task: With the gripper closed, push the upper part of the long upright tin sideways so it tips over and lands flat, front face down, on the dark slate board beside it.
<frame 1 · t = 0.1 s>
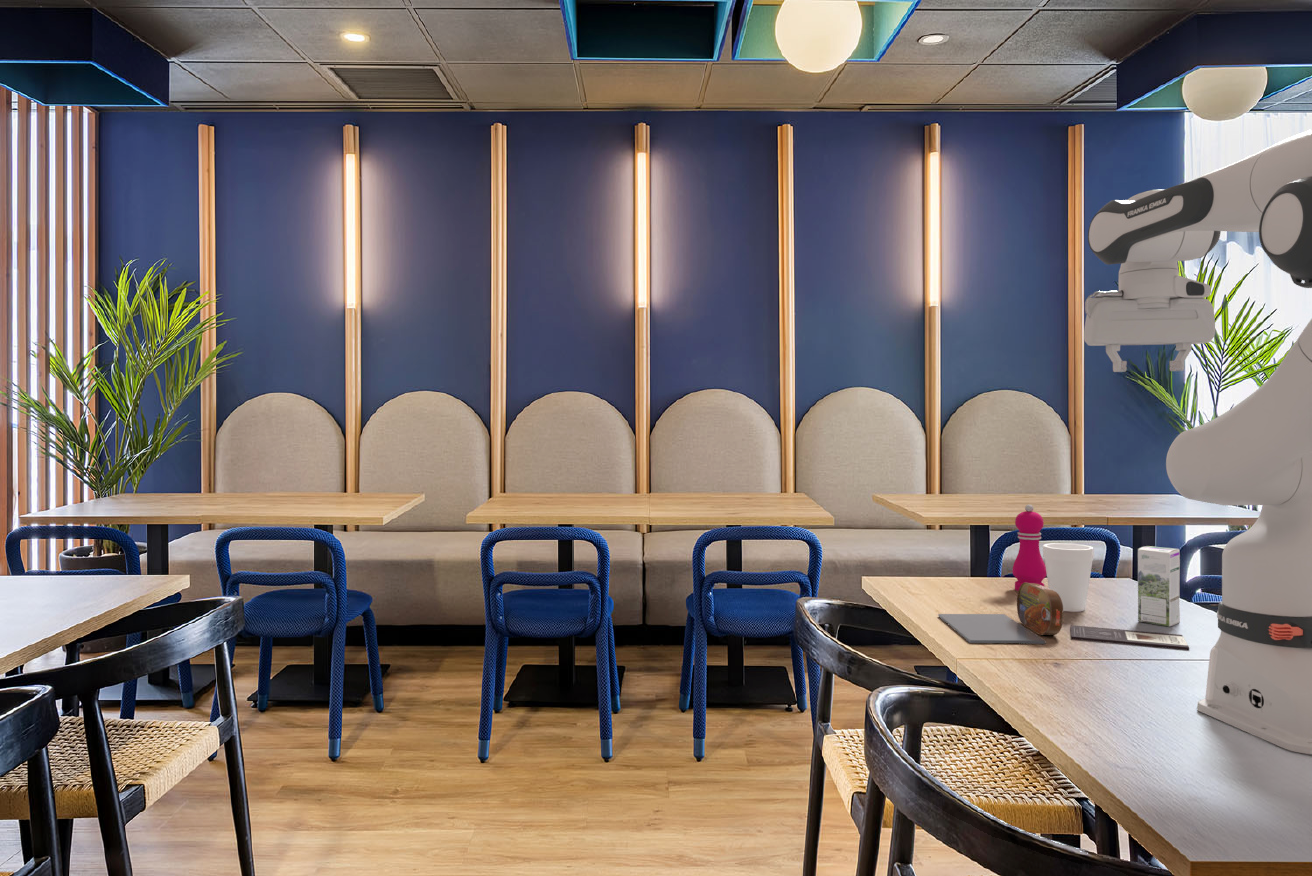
hand: (1148, 371, 140), 48 cm above the table, tool pointing down, fingers open, 8 cm apart
tin: (1039, 631, 155), on the table
chocolate bar: (1126, 642, 148), on the table
pepper mill: (1029, 591, 190), on the table
foam cup: (1068, 609, 172), on the table
syrup box: (1158, 623, 160), on the table
slate board: (988, 629, 156), on the table
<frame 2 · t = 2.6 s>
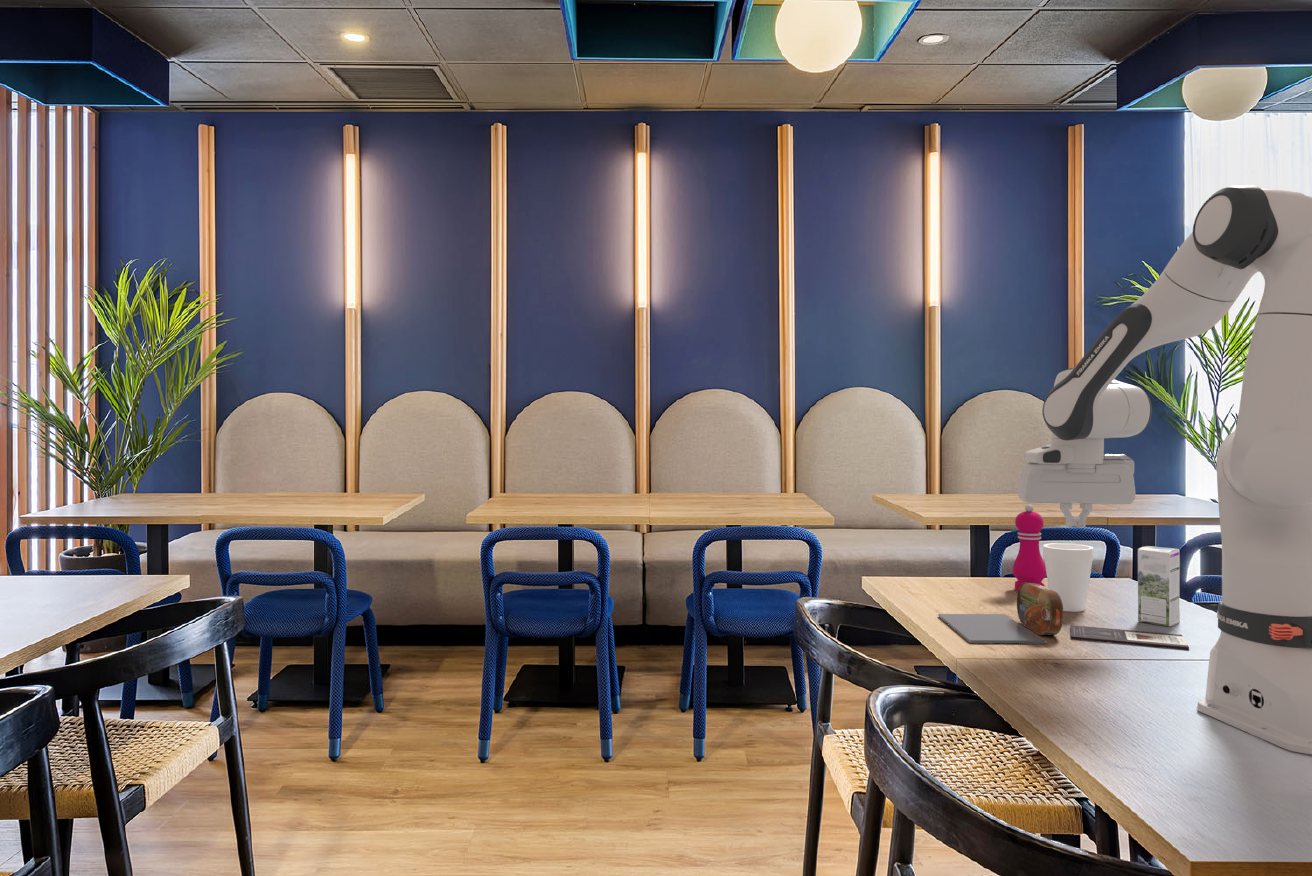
hand: (1075, 527, 155), 19 cm above the table, tool pointing down, fingers closed
nothing on the table moved.
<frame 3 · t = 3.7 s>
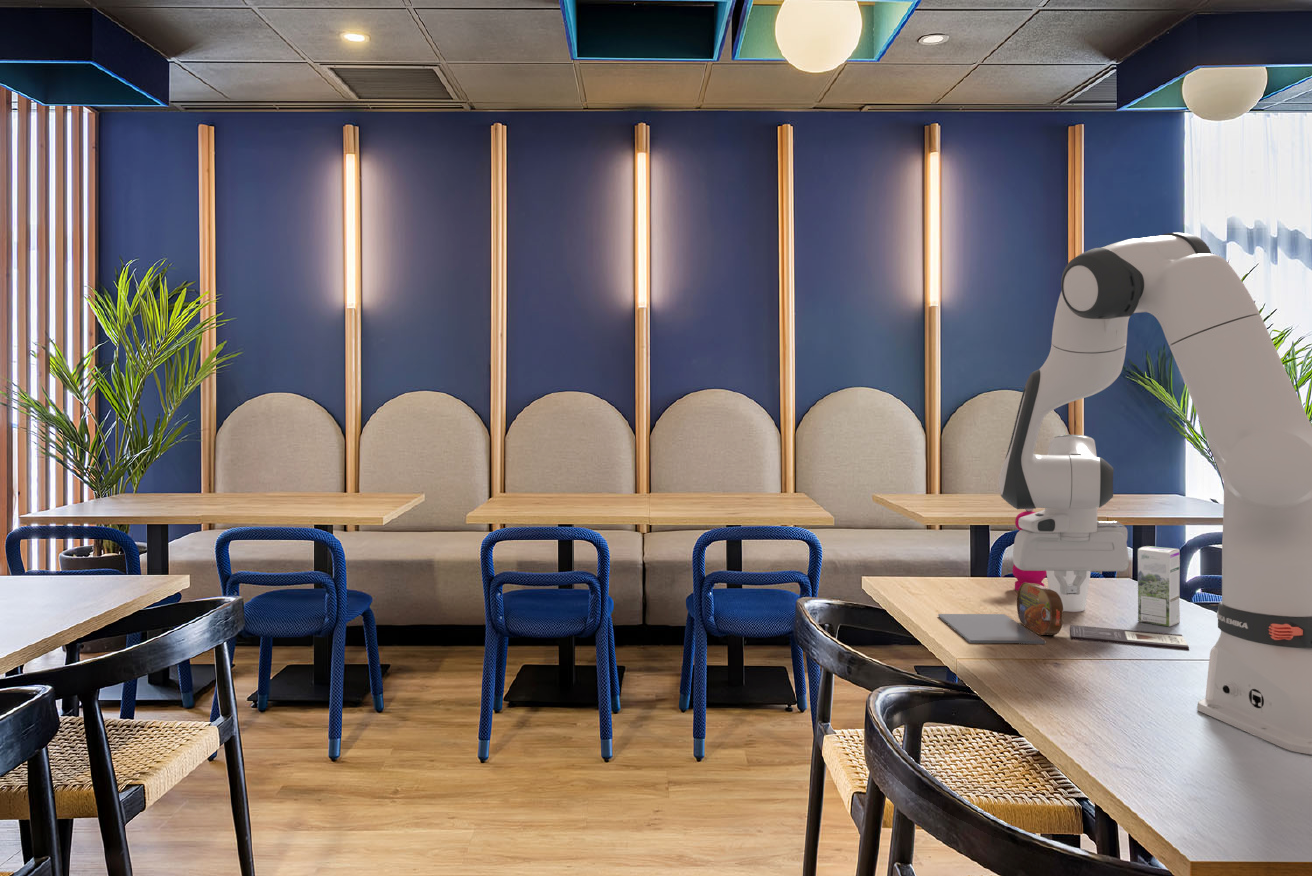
hand: (1069, 594, 155), 7 cm above the table, tool pointing down, fingers closed
nothing on the table moved.
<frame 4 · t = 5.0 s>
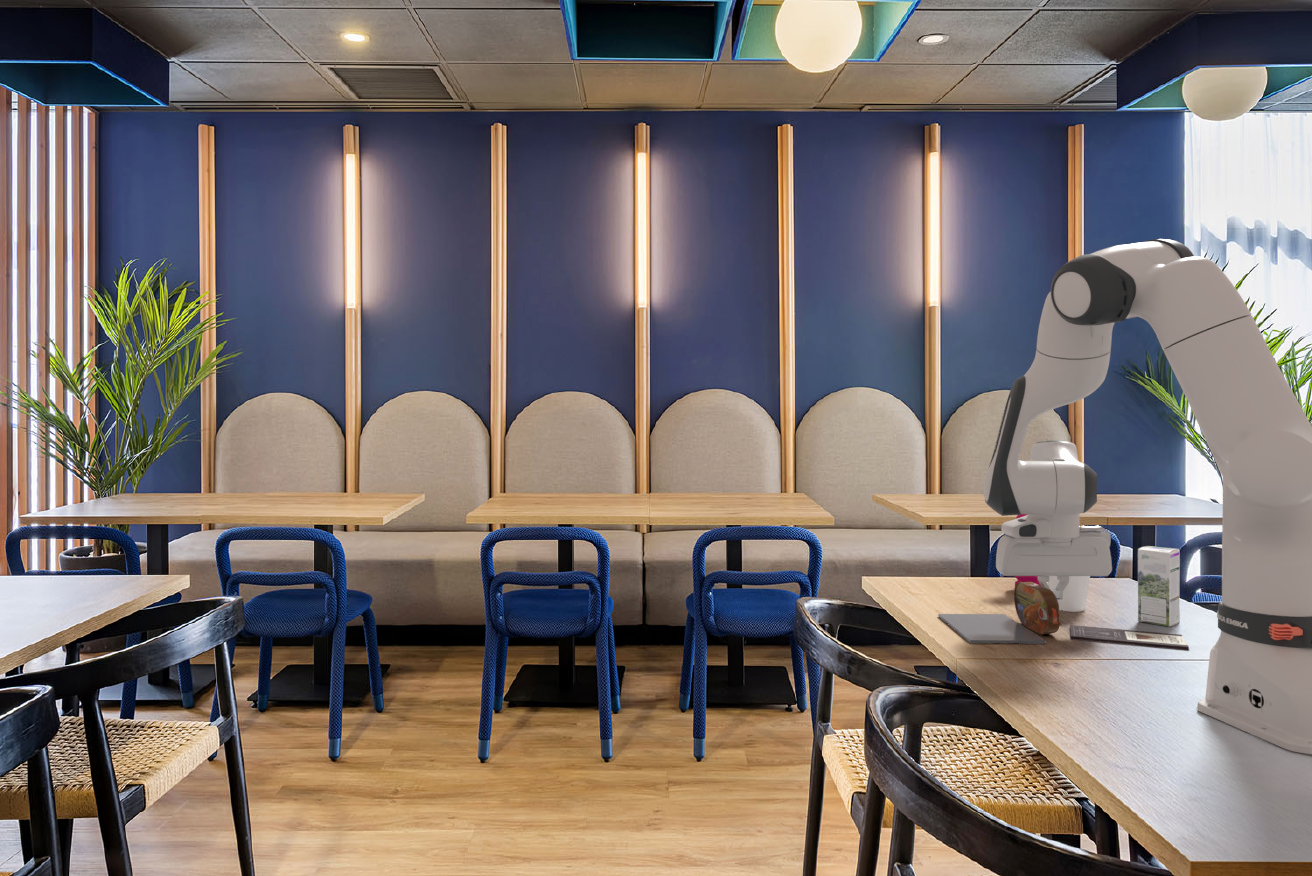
hand: (1053, 599, 155), 6 cm above the table, tool pointing down, fingers closed
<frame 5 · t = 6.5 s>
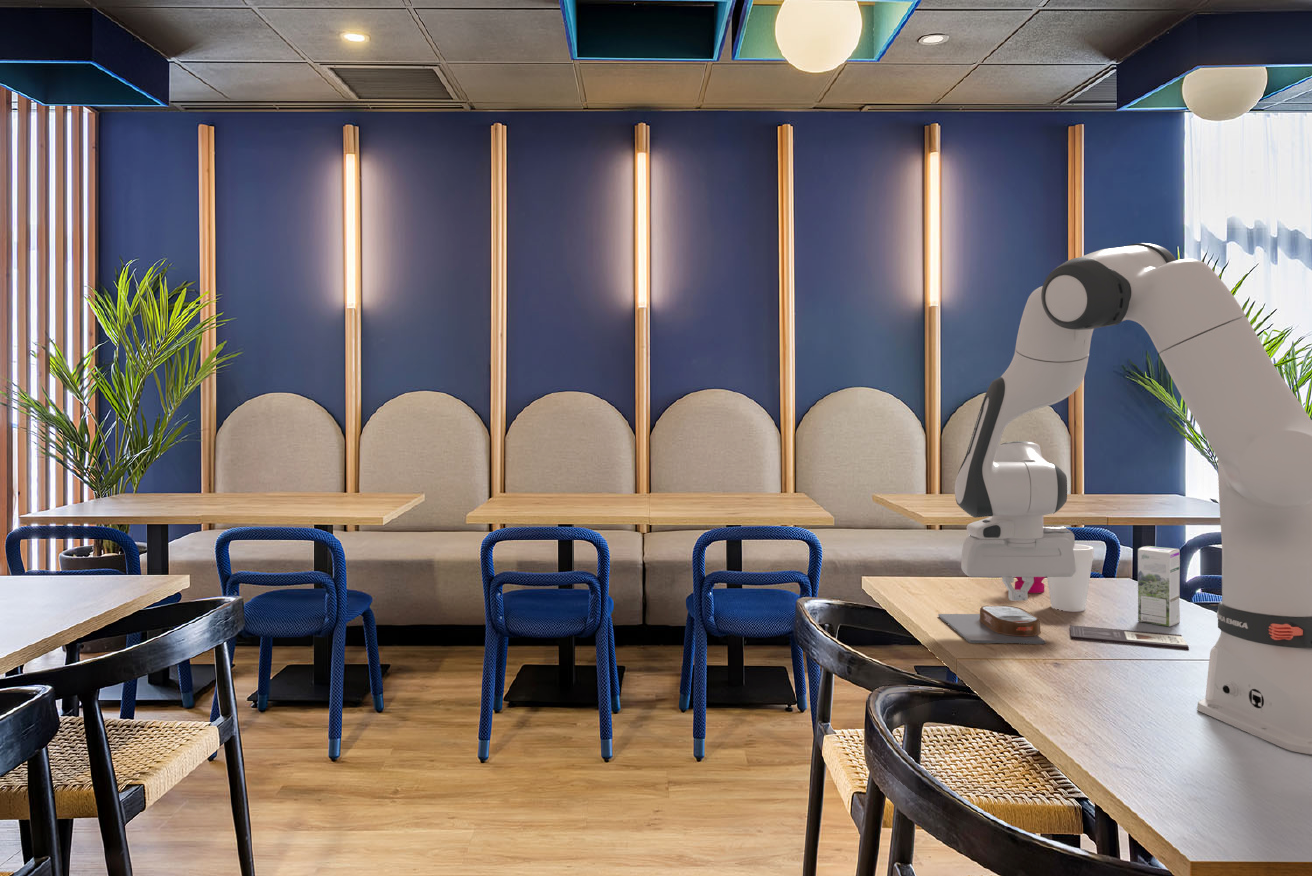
hand: (1017, 600, 155), 6 cm above the table, tool pointing down, fingers closed
tin: (1032, 618, 155), point 2 cm above the table, touching slate board
everything else where it was.
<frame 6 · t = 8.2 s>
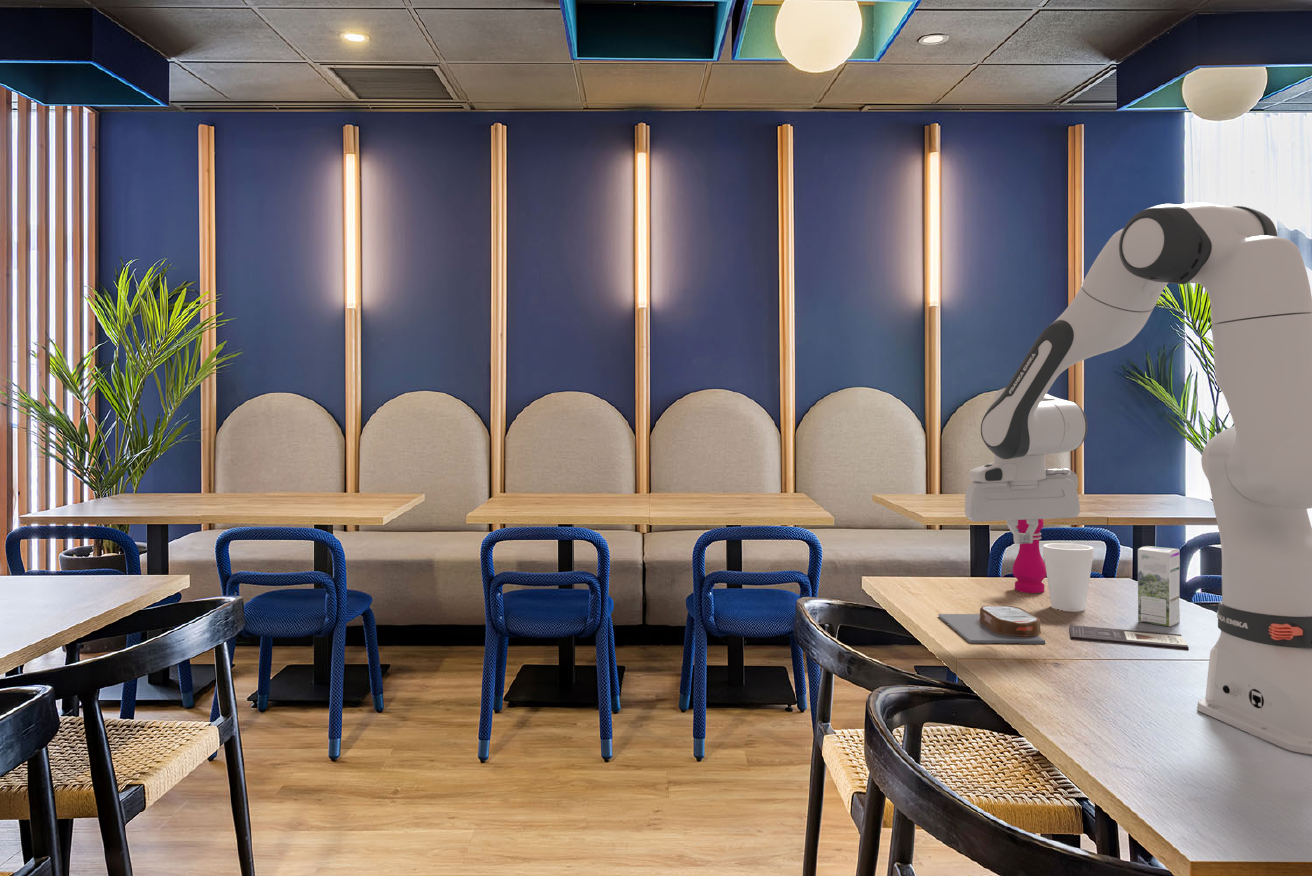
hand: (1023, 543, 155), 16 cm above the table, tool pointing down, fingers closed
nothing on the table moved.
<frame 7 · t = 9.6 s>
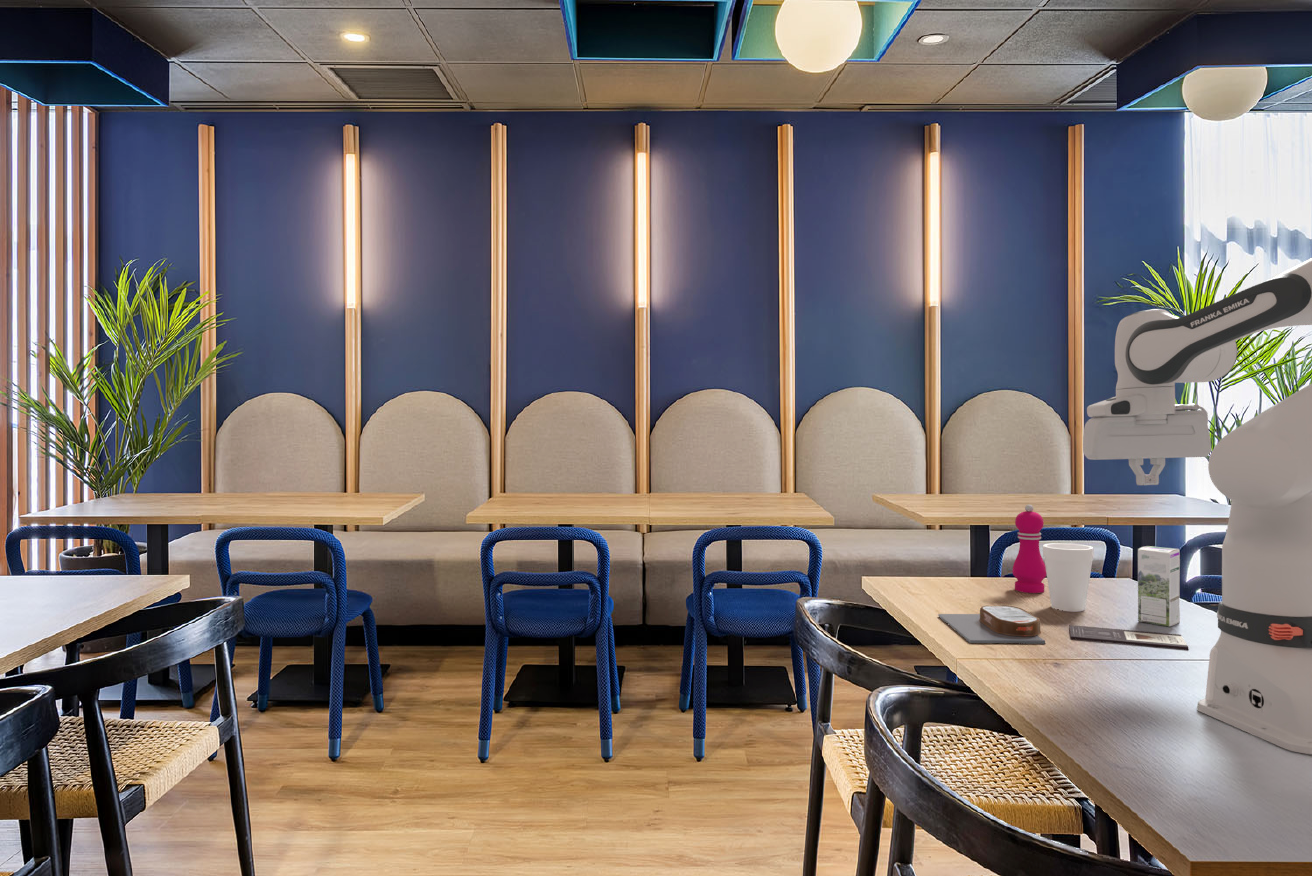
hand: (1147, 485, 142), 28 cm above the table, tool pointing down, fingers closed
nothing on the table moved.
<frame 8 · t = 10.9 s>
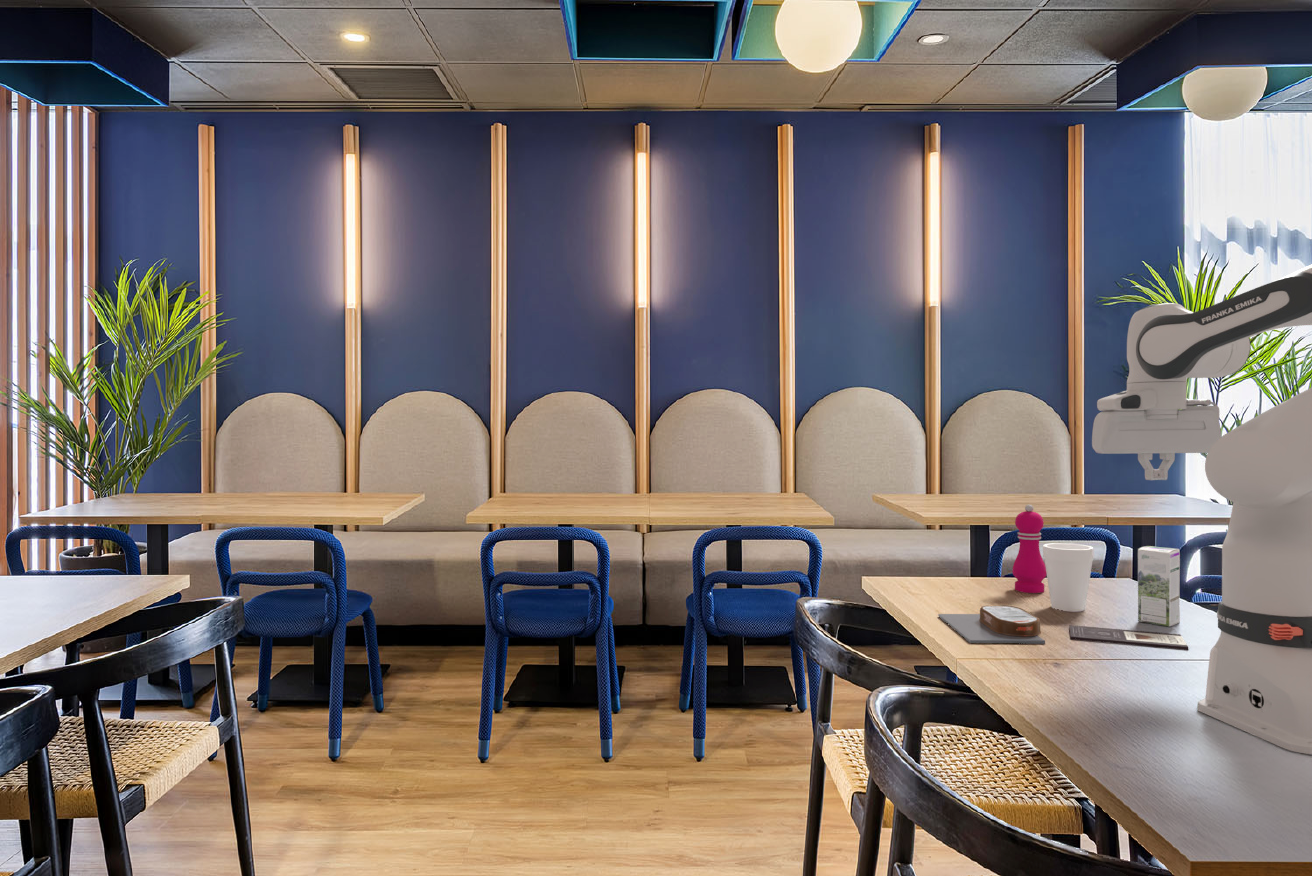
hand: (1156, 479, 142), 29 cm above the table, tool pointing down, fingers closed
nothing on the table moved.
at the end: tin tilted 94°; tin inside the target area (5.7 cm from its centre), point 2.2 cm above the table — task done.
